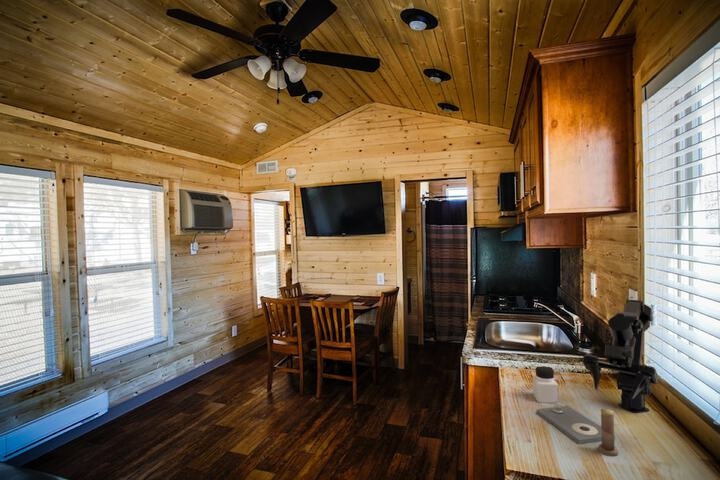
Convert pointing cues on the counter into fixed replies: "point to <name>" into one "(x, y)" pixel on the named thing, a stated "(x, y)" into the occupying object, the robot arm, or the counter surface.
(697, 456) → the counter surface
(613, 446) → the walnut peg
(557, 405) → the steel pin
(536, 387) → the medicine bottle
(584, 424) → the board
